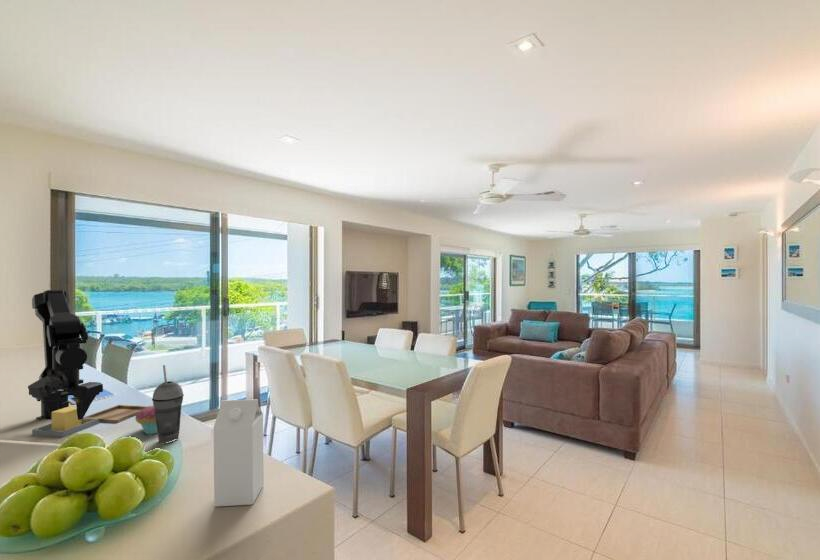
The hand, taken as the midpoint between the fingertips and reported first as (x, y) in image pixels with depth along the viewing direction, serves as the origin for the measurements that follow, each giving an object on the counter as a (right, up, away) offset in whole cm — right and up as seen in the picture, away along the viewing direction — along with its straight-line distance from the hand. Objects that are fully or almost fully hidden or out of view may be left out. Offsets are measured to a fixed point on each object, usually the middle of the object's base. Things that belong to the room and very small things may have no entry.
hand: (66, 418), depth 112 cm
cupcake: (+25, -4, -1) cm, 26 cm away
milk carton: (+64, -3, -34) cm, 73 cm away
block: (0, -3, 0) cm, 3 cm away
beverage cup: (+33, -4, -7) cm, 34 cm away
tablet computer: (-23, -4, +35) cm, 42 cm away
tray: (+6, -3, +12) cm, 14 cm away
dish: (0, -4, 0) cm, 4 cm away
